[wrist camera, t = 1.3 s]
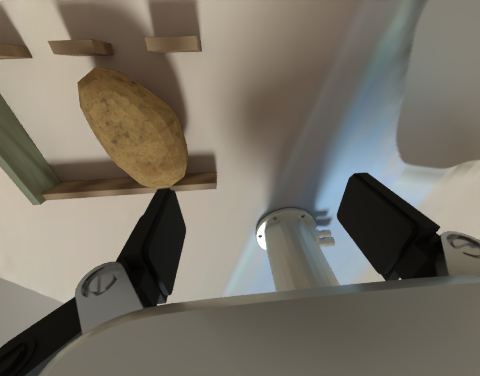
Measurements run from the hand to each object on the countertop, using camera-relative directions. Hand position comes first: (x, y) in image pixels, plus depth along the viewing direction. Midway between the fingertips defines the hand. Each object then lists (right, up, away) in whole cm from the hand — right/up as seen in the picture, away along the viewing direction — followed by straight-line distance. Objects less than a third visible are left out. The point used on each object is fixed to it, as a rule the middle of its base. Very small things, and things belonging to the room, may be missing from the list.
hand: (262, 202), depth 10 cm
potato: (-13, +10, +15) cm, 23 cm away
